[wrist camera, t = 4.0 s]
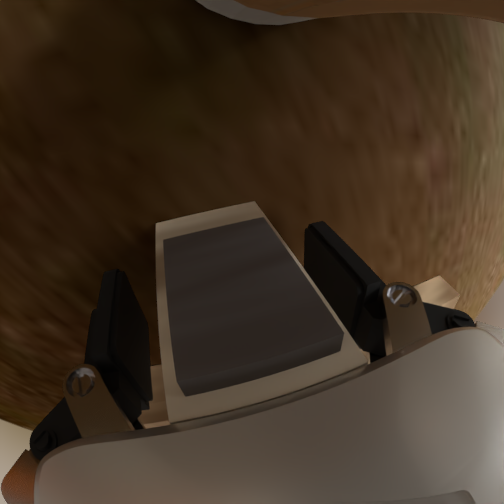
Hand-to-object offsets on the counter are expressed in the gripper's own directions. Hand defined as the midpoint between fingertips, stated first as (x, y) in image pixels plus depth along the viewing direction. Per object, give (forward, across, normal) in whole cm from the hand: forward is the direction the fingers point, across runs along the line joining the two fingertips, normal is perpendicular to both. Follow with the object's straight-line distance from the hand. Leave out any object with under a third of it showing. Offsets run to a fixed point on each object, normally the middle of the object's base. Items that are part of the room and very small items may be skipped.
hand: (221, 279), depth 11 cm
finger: (+2, 0, 0) cm, 2 cm away
